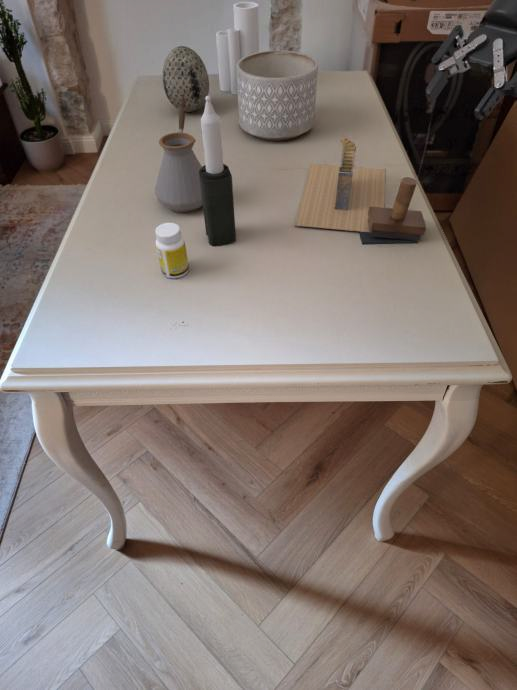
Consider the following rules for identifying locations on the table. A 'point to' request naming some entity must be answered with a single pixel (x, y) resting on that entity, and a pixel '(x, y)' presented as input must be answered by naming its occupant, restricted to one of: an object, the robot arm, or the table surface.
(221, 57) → the vase
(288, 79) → the planter
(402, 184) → the brown block with cylinder
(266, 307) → the table surface
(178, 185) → the grey ribbed jar
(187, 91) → the decorative egg
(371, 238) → the mat
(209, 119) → the candle
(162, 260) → the supplement bottle
